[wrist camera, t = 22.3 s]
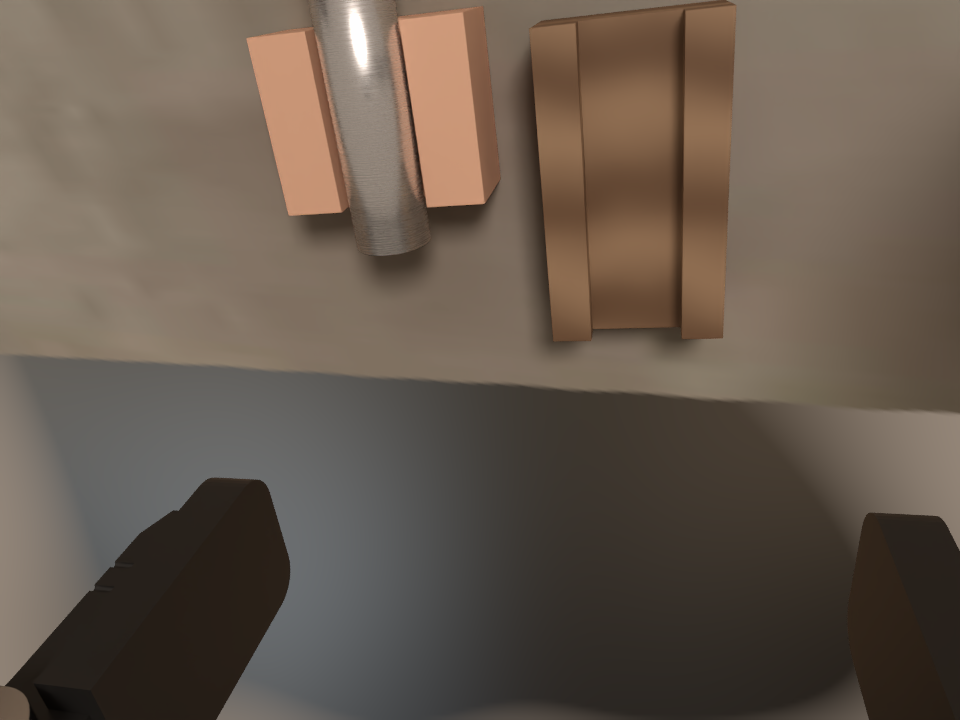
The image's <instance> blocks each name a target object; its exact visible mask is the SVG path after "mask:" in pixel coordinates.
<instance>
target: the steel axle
mask: <svg viewBox="0 0 960 720" xmlns="http://www.w3.org/2000/svg"><path fill="white" fill-rule="evenodd" d="M308 3H309V8H310V13H311V18H312V23H313V28H314V33H315V38H316V43H317V48H318V53H319V58H320V63H321V68H322V73H323V78H324V83H325V88H326V93H327V98H328V103H329V108H330V113H331V118H332V123H333V128H334V133H335V138H336V143H337V148H338V153H339V158H340V163H341V168H342V173H343V178H344V183H345V188H346V193H347V198H348V203H349V208H350V213H351V218H352V223H353V228H354V233H355V238H356V243H357V248H358V251H359V252H360V253H363V254H366V255H372V256H387V255H395V254H401V253H405V252H409V251H413V250H416V249H418V248H420V247H423V246H424V245H426V244H427V243H428V242H429V241H430V240H431V236H430V229H429V222H428V216H427V209H426V203H425V196H424V189H423V183H422V176H421V170H420V163H419V157H418V150H417V143H416V137H415V130H414V124H413V117H412V110H411V104H410V97H409V91H408V84H407V77H406V71H405V64H404V58H403V51H402V44H401V38H400V31H399V25H398V18H397V11H396V5H395V0H308Z"/></svg>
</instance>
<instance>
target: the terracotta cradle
mask: <svg viewBox="0 0 960 720" xmlns="http://www.w3.org/2000/svg"><path fill="white" fill-rule="evenodd" d="M397 18H398V25H399V31H400V38H401V44H402V51H403V58H404V64H405V71H406V77H407V84H408V91H409V97H410V104H411V110H412V117H413V124H414V130H415V137H416V143H417V150H418V157H419V163H420V170H421V176H422V183H423V189H424V196H425V197H426V204H427V207H440V206H457V205H473V204H485V203H486V201H487V199H488V198H489V196H490V195H491V193H492V192H493V190H494V188H495V187H496V185H497V184H498V182H499V181H500V179H501V178H500V168H499V158H498V148H497V138H496V129H495V119H494V109H493V99H492V89H491V80H490V70H489V60H488V50H487V40H486V31H485V21H484V11H483V6H481V7H473V8H465V9H456V10H448V11H440V12H432V13H423V14H415V15H407V16H399V17H397ZM247 42H248V47H249V51H250V55H251V59H252V63H253V68H254V72H255V76H256V80H257V84H258V88H259V93H260V97H261V101H262V105H263V109H264V113H265V118H266V122H267V126H268V130H269V134H270V139H271V143H272V147H273V151H274V155H275V159H276V164H277V168H278V172H279V176H280V180H281V185H282V189H283V193H284V197H285V201H286V205H287V210H288V214H289V216H292V215H308V214H325V213H341V212H343V211H344V210H345V209H346V208H348V207H349V203H348V198H347V193H346V188H345V183H344V178H343V173H342V168H341V163H340V158H339V153H338V148H337V143H336V138H335V133H334V128H333V123H332V118H331V113H330V108H329V103H328V98H327V93H326V88H325V83H324V78H323V73H322V68H321V63H320V58H319V53H318V48H317V43H316V38H315V33H314V28H313V27H308V28H300V29H291V30H285V31H280V32H275V33H270V34H265V35H260V36H255V37H250V38H247Z"/></svg>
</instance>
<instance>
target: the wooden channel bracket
mask: <svg viewBox="0 0 960 720" xmlns="http://www.w3.org/2000/svg"><path fill="white" fill-rule="evenodd" d="M735 24H736V5H735V4H733V3H730V2H728V1H726V0H718V1H710V2H701V3H692V4H684V5H675V6H666V7H657V8H649V9H640V10H631V11H623V12H614V13H605V14H596V15H588V16H579V17H570V18H562V19H553V20H544V21H541V22H539V23H538V24H536V25H534V26H533V27H531V28H530V29H529V32H530V45H531V58H532V71H533V84H534V97H535V110H536V123H537V136H538V149H539V162H540V175H541V188H542V201H543V214H544V227H545V240H546V253H547V266H548V279H549V292H550V305H551V318H552V331H553V341H591V340H592V332H593V329H610V328H656V327H680V328H681V337H682V339H712V338H723V320H724V296H725V271H726V246H727V222H728V197H729V172H730V147H731V123H732V98H733V73H734V49H735Z"/></svg>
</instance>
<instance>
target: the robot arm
mask: <svg viewBox="0 0 960 720" xmlns="http://www.w3.org/2000/svg"><path fill="white" fill-rule="evenodd" d="M289 580H290V561H289V556H288V553H287V549H286V546H285V543H284V539H283V536H282V532H281V530H280V526H279V522H278V519H277V515H276V512H275V509H274V505H273V502H272V499H271V495H270V492H269V489H268V488H267V486H266V484H265V483H264V482H262V481H261V480H252V479H251V480H250V479H233V478H210V479H207V480H206V481H205V482H203V483H202V484H201V485H200V486H199V487H198V489H197V490H196V491H195V492H194V493H193V495H192V496H191V497H190V498H189V499H188V501H187V502H186V503H185V504H184V505H183V506H182V508H181V509H180V510H179V511H172V512H170V513H169V514H167V515H166V516H165V517H163V518H162V519H160V520H159V521H157V522H156V523H155V524H153V525H151V526H150V527H149V528H147V529H146V530H145V531H143V532H141V533H140V534H139V535H138V536H137V537H136V539H135V540H134V541H133V542H132V543H131V544H130V545H129V546H128V548H127V549H126V550H125V551H124V552H123V553H122V554H121V555H120V557H119V558H118V559H117V560H116V561H115V566H114V568H113V567H110V568H109V569H108V570H107V571H106V573H105V574H104V575H103V576H102V577H101V578H100V579H99V580H98V582H97V583H96V584H95V589H94V591H89V592H88V593H87V594H86V595H85V596H84V597H83V599H82V600H81V601H80V602H79V603H78V604H77V605H76V607H75V608H74V609H73V610H72V611H71V612H70V614H68V616H67V617H66V618H65V619H64V620H63V621H62V623H61V624H60V625H59V626H58V627H57V628H56V629H55V630H54V632H53V633H52V634H51V635H50V636H49V637H48V638H47V639H46V641H45V642H44V643H43V644H42V645H41V646H40V647H39V649H38V650H37V651H36V652H35V653H34V654H33V655H32V656H31V658H30V659H29V660H28V661H27V662H26V663H25V665H24V666H23V667H22V668H21V669H20V670H19V671H18V672H17V673H16V675H15V676H14V677H13V678H12V679H11V680H10V681H9V682H8V683H7V684H6V685H5V686H0V720H216V719H217V717H218V715H219V714H220V712H221V710H222V708H223V707H224V705H225V703H226V701H227V700H228V698H229V696H230V694H231V693H232V691H233V689H234V687H235V686H236V684H237V682H238V680H239V678H240V677H241V675H242V673H243V672H244V670H245V668H246V666H247V664H248V663H249V661H250V659H251V657H252V656H253V654H254V652H255V650H256V649H257V647H258V645H259V643H260V642H261V640H262V638H263V636H264V635H265V633H266V631H267V629H268V628H269V626H270V624H271V622H272V621H273V619H274V617H275V615H276V614H277V612H278V610H279V608H280V607H281V605H282V603H283V601H284V599H285V596H286V593H287V590H288V585H289ZM847 627H848V639H849V646H850V651H851V656H852V660H853V663H854V667H855V671H856V674H857V678H858V682H859V685H860V689H861V692H862V696H863V699H864V703H865V707H866V710H867V714H868V717H869V720H960V551H959V549H958V547H957V545H956V543H955V541H954V539H953V537H952V535H951V533H950V531H949V529H948V527H947V525H946V524H945V522H944V521H943V520H942V519H941V518H940V517H938V516H925V515H905V514H885V513H868V514H867V515H866V517H865V519H864V522H863V526H862V531H861V536H860V541H859V547H858V552H857V558H856V563H855V569H854V574H853V580H852V585H851V590H850V596H849V602H848V611H847Z"/></svg>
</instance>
